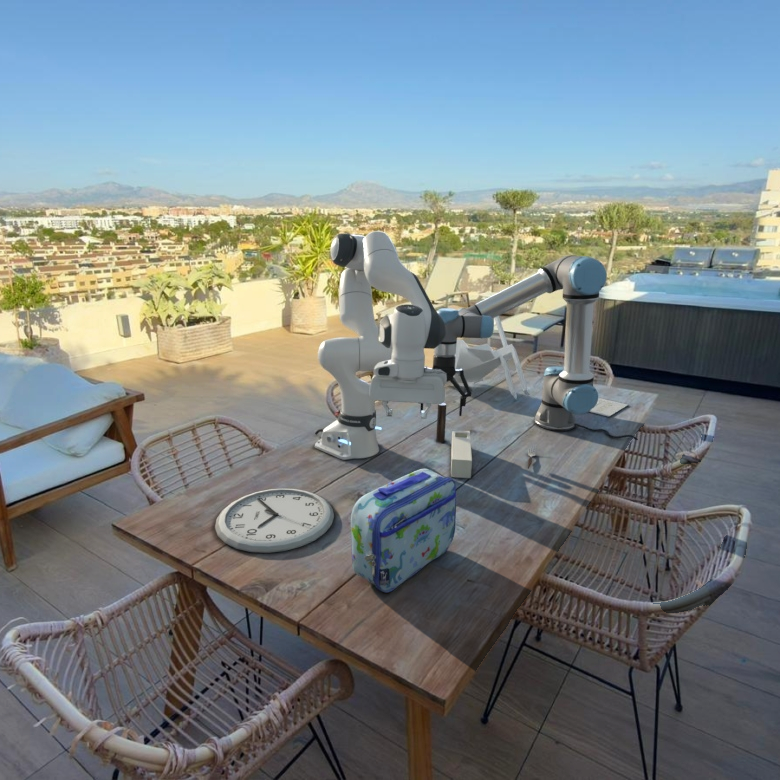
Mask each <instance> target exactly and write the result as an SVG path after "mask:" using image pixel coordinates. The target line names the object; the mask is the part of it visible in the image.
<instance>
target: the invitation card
mask: <svg viewBox="0 0 780 780" xmlns="http://www.w3.org/2000/svg"><path fill="white" fill-rule="evenodd" d="M628 406H629V404H627V403H623V402H618V401H614V400H609V399H605V398H601V397H598V401H597V404H596V405H595V407H594V408H592V409H591V410H590V411H589V412H588V413H593V414H596V415H600V416H604V417H608V418H609V417H611V416H613V415H614V414H616V413H617V412H619V411H621V410H623V409H624V408H626V407H628Z"/></svg>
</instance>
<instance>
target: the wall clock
mask: <svg viewBox="0 0 780 780" xmlns="http://www.w3.org/2000/svg"><path fill="white" fill-rule="evenodd" d="M334 518H335V514H334V509H333V507H332V506H331V504H330V503H329V502H328V501H327V499H325V498H323V497H321V496H320V495H318V494H316V493H313V492H311V491H307V490H304V489H296V488H270V489H265V490H260V491H256V492H252V493H250V494H246V495H244V496H242V497H240V498H238V499H236V500H234V501H232V502H231V503H229V504H228V505H227V506H226V507H224V508H223V509H222V510H221V511H220V513H219V515H218V516H217V518H216V520H215V525H214V529H215V532H216V535H217V538H218V539H220V540H221V541H222V542H223V543H224V544H226V545H228V546H230V547H232V548H234V549H236V550H240V551H245V552H248V553H249V552H250V553H261V554H262V553H265V554H270V553H277V552H287V551H290V550H293V549H298V548H301V547H304V546H306V545H308V544H311V543H312V542H314V541H316V540H317V539H319V538H321V537H322V536H323V535H325V534H326V532H327V531H328V530H329V529H330V528H331V526H332V525H333V522H334Z"/></svg>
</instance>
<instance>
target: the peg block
mask: <svg viewBox="0 0 780 780" xmlns="http://www.w3.org/2000/svg"><path fill="white" fill-rule="evenodd" d="M450 450H451V455H450V457H451V459H450V478H459V479H471V478H472V467H473V466H472V465H473V456H472V441H471V431H470V430H456V429H453V430H452V432H451V449H450Z"/></svg>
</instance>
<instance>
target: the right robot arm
mask: <svg viewBox="0 0 780 780" xmlns="http://www.w3.org/2000/svg"><path fill="white" fill-rule="evenodd" d="M607 279H608V277H607V269H606V268H605V266H604V264H603V263H602V262H601V261H600V260H598V259H596V258H594V257H592V256H586V255H585V256H583V255H573V254H570V255H569V254H568V255H565V256H562V257H560V258H558V259H556V260H554V261H552V262H550V263H548V264H546V265H545V266H543V267H541V268H539V269H538V270H537V273H535V274H533V275H530V276H529V277H527V278H524V279H523V280H521V281H519V282H517V283H515V284H513V285H511V286H509V287H507V288H504V289H503V290H501V291H499V292H497V293H494V294H493V295H491V296H489V297H487V298H485V299H483V300H481V301H478V302H476V303H475V304H473V305H471V306H468V307H462V308H461V307H460V308H459V309H456V308H447V307H446V308H444V307H443V308H438V309H437V310H436V311H437V313H438V314H439V315H440V316H441V318H442V319H443V321H444V324H445V329H446V334H445V338H444V340H443V341H442V342H441V343H440V344H439V345H438V346H437V347H436V348H434V349H433V357H432V360H433V361H432V368H431V367H428V366H426V365H425V367H424V368H425V369H440V370H441V371H443V372H445V373H446V375H447V381H450V382H451V383H452V384H451V385H453V387H454V388H455V389H456V390H457V392H458V393H459V394H460V398H459V411H458V416H459V417H462V414H463V407H466V406H467V405H466V404H467V398H469V397H470V398H471V397H472V396H473V395H472V390H471V388H470V386H469V382H468V383H467V381H466V379H465V376H464V370H463V369H460V370H455V358H456V357H455V354H456V344H457V339H488V338H491V337H492V336H493V334H494V330H495V323H494V319H495V317H497V316H499V317H500V316H501V315H503V314H505V313H507V312H509V311H511V310H513V309H516V308H517V307H520V306H521V305H524V304H525V303H527V302H530V301H532V300H535V299H536V298H538V297H540V296H541V295H544V294H546V293H547V294H553V293H554V292H557V291H560V290H562V299H563V300H564V302H566V315H565V317H566V318H565V335H564V336H565V337H564V338H565V339H564V356H563V357H564V358H563V359H564V360H563V366H549V367H547V368H545V370H544V373H543V381H542V382H543V383H542V394H541V402H540V405H539V407H538V410H537V411H536V413H535V417H534V424H535V425H536V426H537V427H539V428H542V429H544V430H549V431H556V432H567V431H572V430H574V429H575V428H576V427H579V428H582V429H584V430H588V431H591V432H604V433H606V435H607V436H608V437H609V438H611V439H612V438H613V439H623V438H632V439H634V440H635V441H638V440H639V439H638V438H637V437H636V436H635V435H632V434H623V435H612V434H611V433H610V432H609V431H608V430H607V429H603V428H590V427H588V426H584V425H582V424H578V423H576V418H575V417H576V416H575V415H584V414H587V413H590V412H589V411H590V410H591V409H592V408H594V407H595V405H596V404H597V401H598V398H599V393H598V390H597V388H596V387H595V386H594V379H595V375H594V374H593V373H592V371H591V370H590V369H591V352H592V337H593V322H594V321H593V319H594V307H595V306H594V304H595V302H596V301H597V300H599V298H600V292H601V291H602V288H604V287H605V285H606V282H607ZM441 373H442V372H441ZM456 373H457V374H458V376H460V377H461V380H462V382H463V383H462V384H463V387H464V389H465V390H464V389H463V387H461V385H460V383H459V384H458V383H457V381H456V380H455V378H454V377H453V376H454V375H455V374H456ZM424 374H425V372H424ZM418 404H420V411H419V413H420V414H421V411H424V403H418Z"/></svg>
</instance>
